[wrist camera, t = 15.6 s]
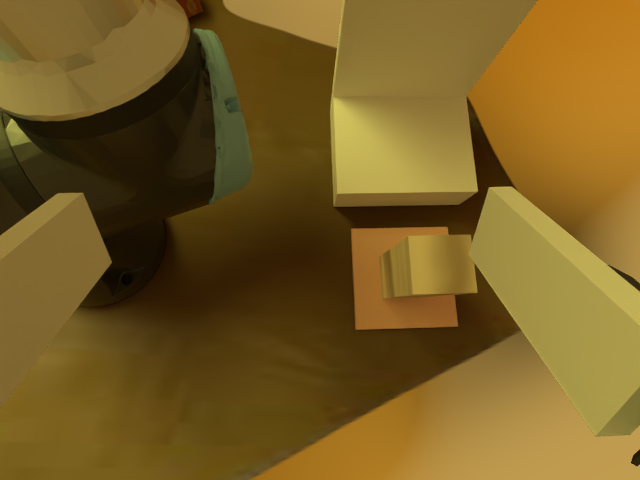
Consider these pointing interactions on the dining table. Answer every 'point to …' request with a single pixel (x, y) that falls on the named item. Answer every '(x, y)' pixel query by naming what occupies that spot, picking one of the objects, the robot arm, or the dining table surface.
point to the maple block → (428, 267)
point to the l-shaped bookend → (411, 97)
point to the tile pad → (368, 285)
